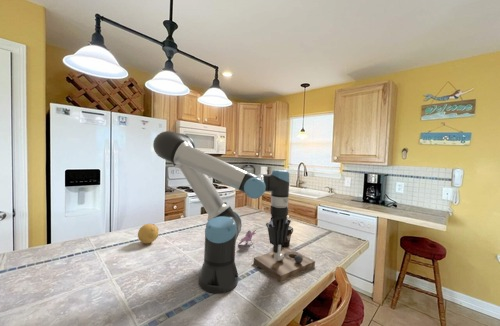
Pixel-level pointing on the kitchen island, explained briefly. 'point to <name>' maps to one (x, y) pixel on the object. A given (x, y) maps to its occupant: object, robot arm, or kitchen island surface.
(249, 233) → the lily
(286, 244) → the coffee mug
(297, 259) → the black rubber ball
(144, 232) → the stress ball
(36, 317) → the kitchen island surface
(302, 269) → the board
